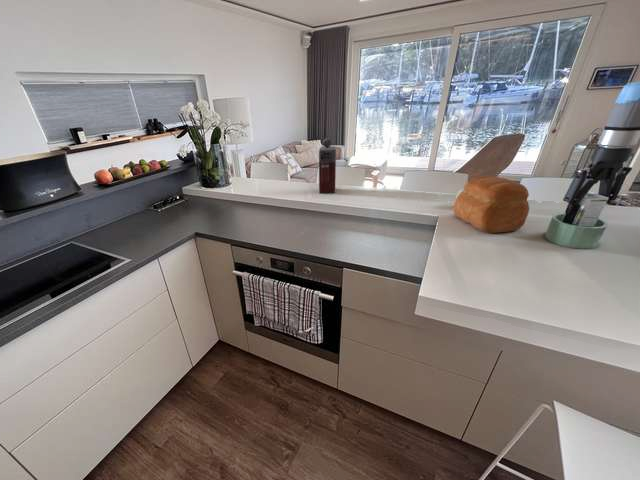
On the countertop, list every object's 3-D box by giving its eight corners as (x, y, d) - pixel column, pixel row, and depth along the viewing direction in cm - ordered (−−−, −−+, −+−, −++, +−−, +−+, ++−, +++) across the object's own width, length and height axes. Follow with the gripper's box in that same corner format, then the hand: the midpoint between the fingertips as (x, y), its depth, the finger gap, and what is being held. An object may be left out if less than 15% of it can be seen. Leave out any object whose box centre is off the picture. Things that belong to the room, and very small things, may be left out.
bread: (481, 235, 102) (495, 189, 94) (447, 215, 121) (456, 174, 112) (529, 231, 103) (547, 184, 94) (487, 211, 121) (500, 170, 113)
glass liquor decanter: (319, 194, 159) (318, 140, 145) (319, 189, 169) (318, 138, 155) (335, 194, 158) (336, 139, 144) (334, 188, 167) (335, 136, 153)
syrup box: (554, 234, 98) (573, 192, 90) (574, 233, 97) (594, 191, 89) (566, 241, 93) (587, 197, 86) (587, 241, 92) (610, 196, 85)
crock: (573, 230, 100) (582, 212, 97) (608, 247, 89) (620, 226, 86) (535, 233, 101) (542, 214, 98) (565, 249, 90) (575, 229, 86)
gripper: (637, 141, 83) (598, 216, 95) (567, 146, 84) (538, 220, 96) (666, 145, 77) (621, 225, 88) (591, 150, 78) (556, 228, 89)
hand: (577, 222), depth 92 cm, fingers closed on syrup box, 6 cm apart
